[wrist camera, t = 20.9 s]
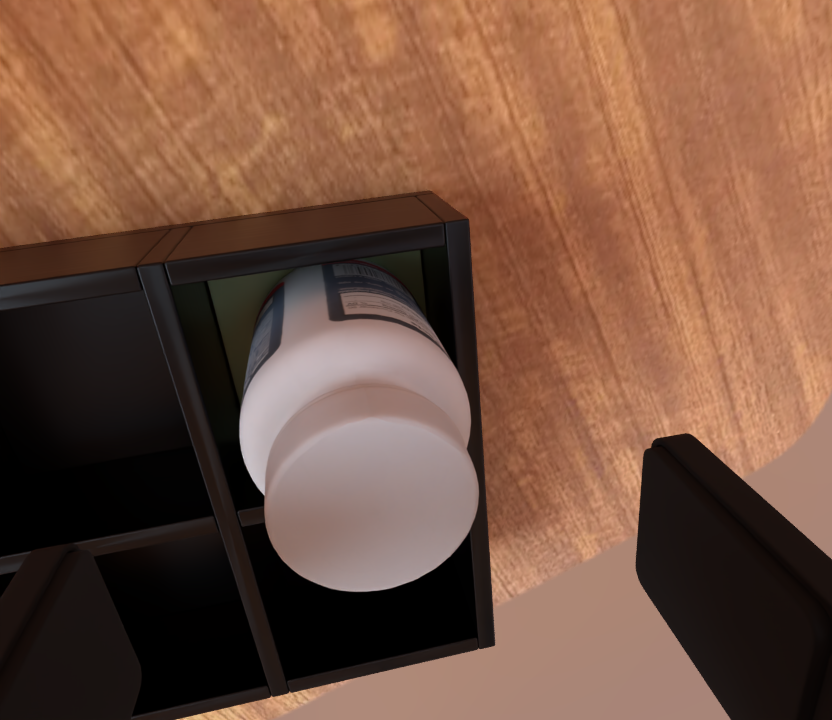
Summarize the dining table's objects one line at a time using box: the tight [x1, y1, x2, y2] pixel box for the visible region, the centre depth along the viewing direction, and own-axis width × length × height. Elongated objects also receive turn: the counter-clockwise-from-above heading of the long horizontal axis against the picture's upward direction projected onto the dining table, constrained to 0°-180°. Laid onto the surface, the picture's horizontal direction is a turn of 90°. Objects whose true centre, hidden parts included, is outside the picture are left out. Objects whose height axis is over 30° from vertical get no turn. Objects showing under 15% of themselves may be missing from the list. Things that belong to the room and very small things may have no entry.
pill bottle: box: [240, 259, 479, 592], centre depth 15 cm, size 5×5×9 cm
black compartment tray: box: [0, 191, 495, 720], centre depth 18 cm, size 15×15×5 cm
